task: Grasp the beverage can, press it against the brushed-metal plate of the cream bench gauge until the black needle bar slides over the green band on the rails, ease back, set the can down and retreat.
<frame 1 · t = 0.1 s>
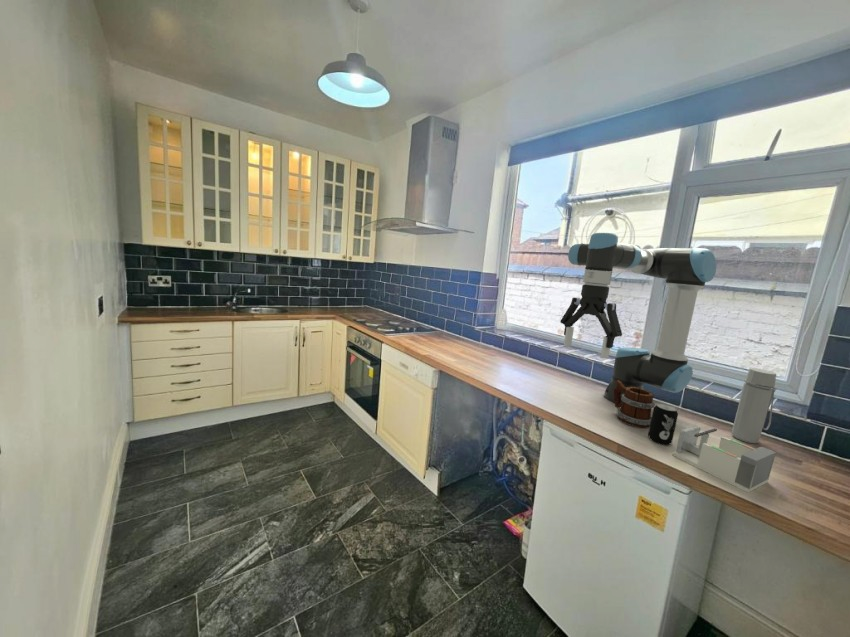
hand: (584, 351, 107), 28 cm above the countertop, fingers open, 13 cm apart
mug: (628, 419, 127), on the countertop
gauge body: (717, 467, 98), on the countertop
water bottle: (747, 440, 118), on the countertop
beverage can: (659, 441, 112), on the countertop
gauge plate: (699, 442, 102), point 5 cm above the countertop, slide at 0.0 cm
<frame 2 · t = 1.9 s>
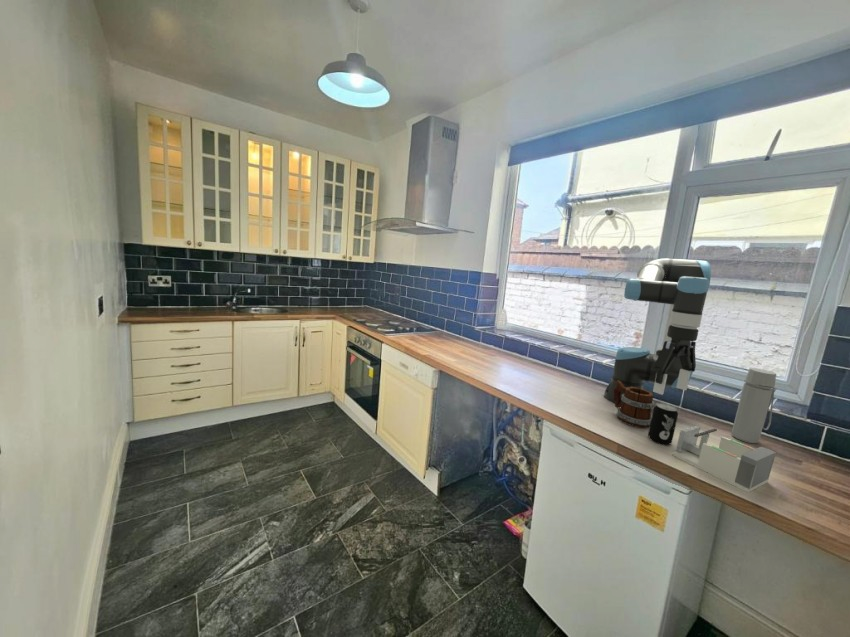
hand: (669, 391, 109), 17 cm above the countertop, fingers open, 13 cm apart
nothing on the countertop moved.
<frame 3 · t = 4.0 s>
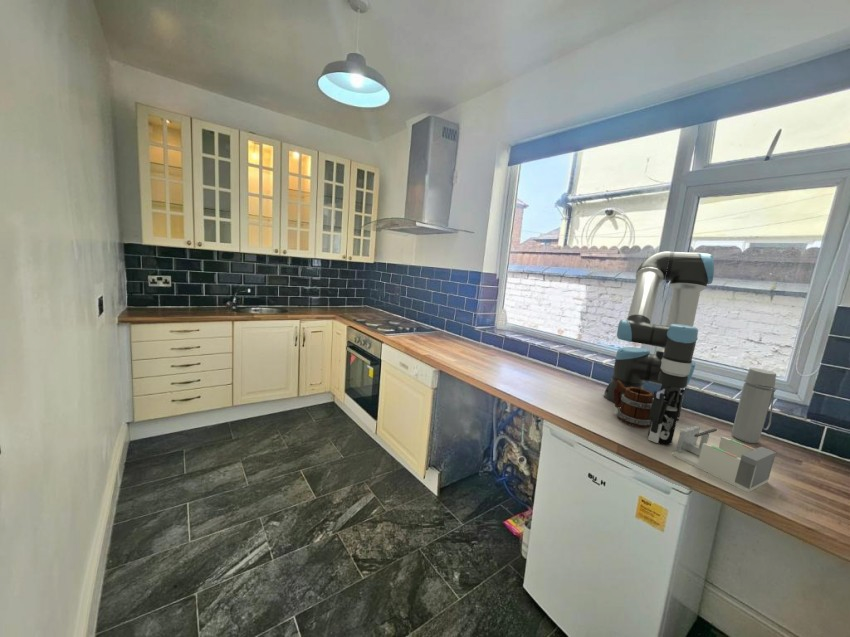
hand: (659, 439, 112), 0 cm above the countertop, fingers closed on beverage can, 7 cm apart
beverage can: (659, 441, 112), on the countertop, touching gripper
everything else where it was.
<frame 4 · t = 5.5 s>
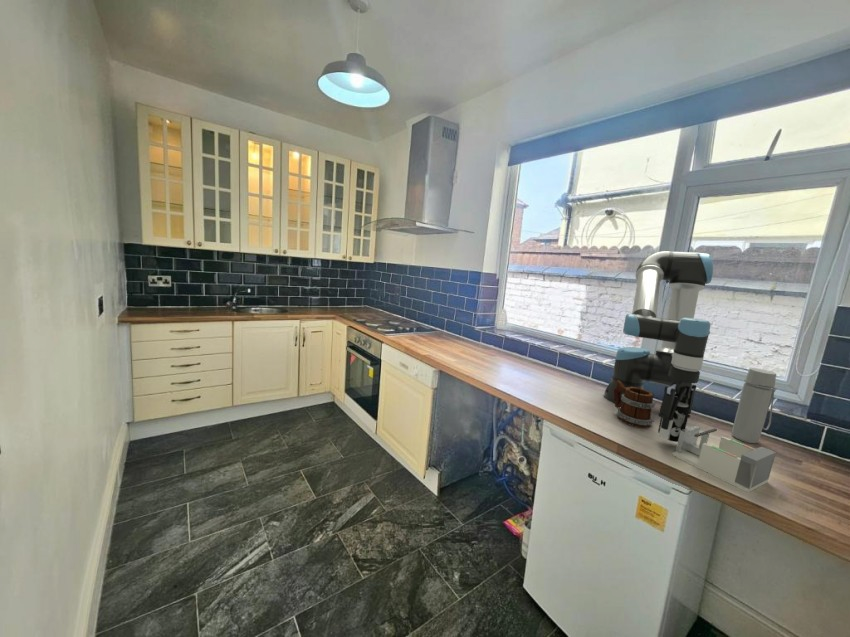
hand: (670, 436, 109), 3 cm above the countertop, fingers closed on beverage can, 7 cm apart
beverage can: (669, 438, 109), point 2 cm above the countertop, touching gripper
everything else where it was.
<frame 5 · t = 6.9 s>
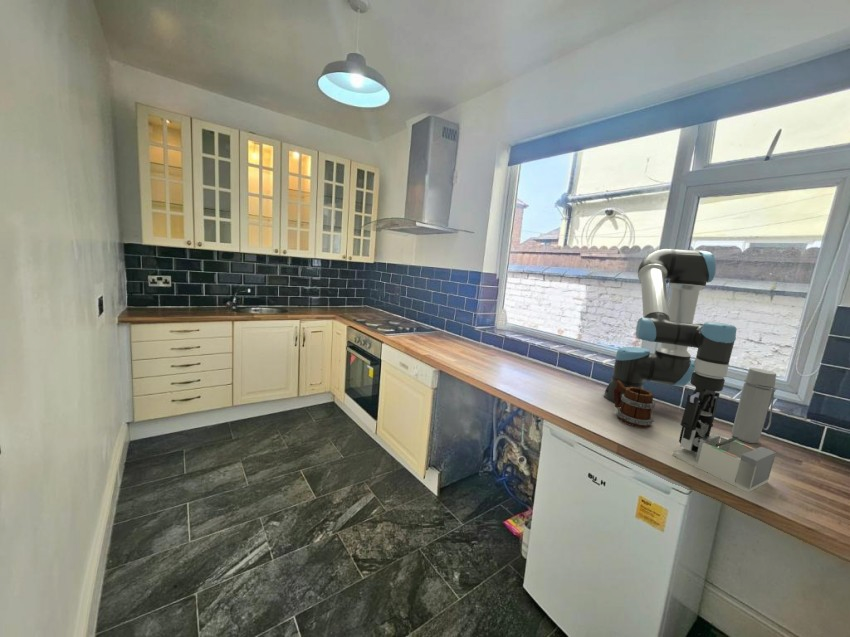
hand: (691, 446, 104), 3 cm above the countertop, fingers closed on beverage can, 7 cm apart
beverage can: (691, 448, 104), point 2 cm above the countertop, touching gripper
gauge plate: (720, 451, 98), point 5 cm above the countertop, slide at 5.2 cm
everything else where it was.
when the fingers open (1 cm above the countertop, at t = 9.2 s): beverage can stays where it is, on the countertop.
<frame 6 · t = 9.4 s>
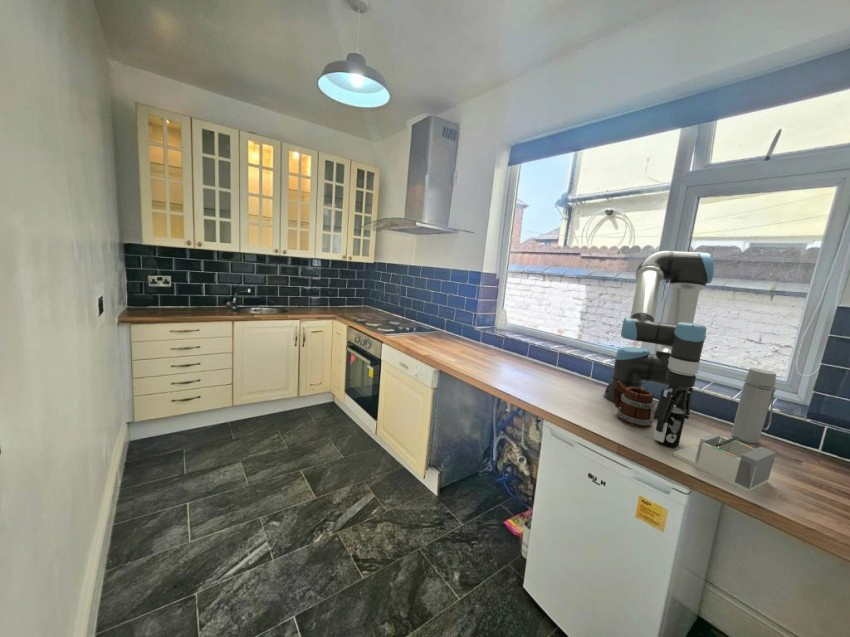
hand: (667, 437, 110), 2 cm above the countertop, fingers open, 9 cm apart
beverage can: (665, 444, 111), on the countertop
everything else where it was.
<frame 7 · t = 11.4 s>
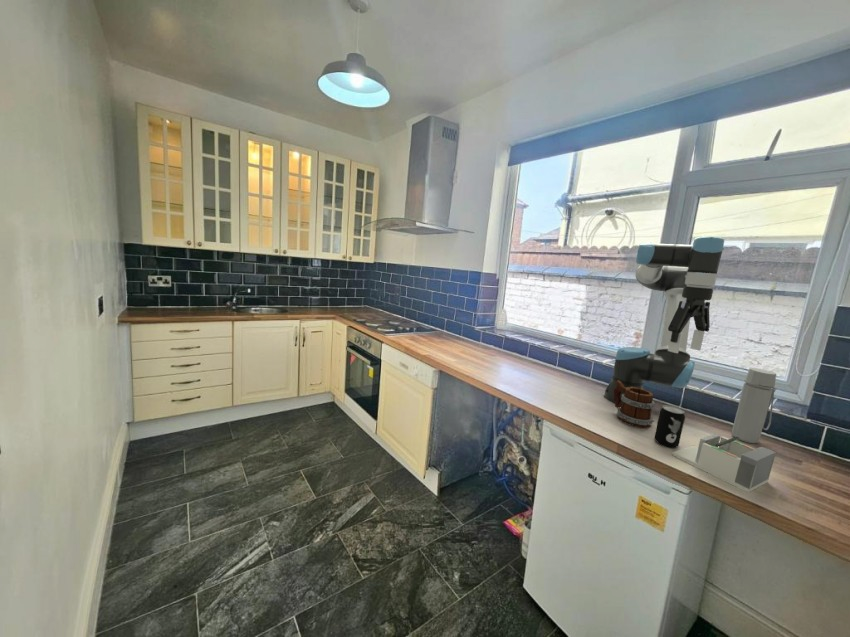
hand: (684, 350, 112), 30 cm above the countertop, fingers open, 13 cm apart
nothing on the countertop moved.
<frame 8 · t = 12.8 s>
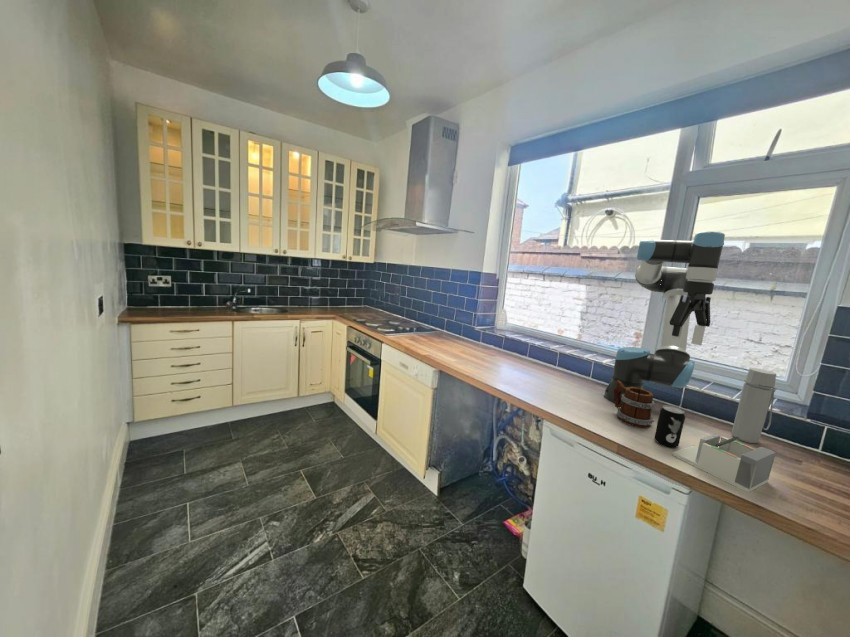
hand: (685, 345, 112), 32 cm above the countertop, fingers open, 13 cm apart
nothing on the countertop moved.
at the end: gauge plate slide at 5.2 cm; the gripper is holding nothing; beverage can tilted 0° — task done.
